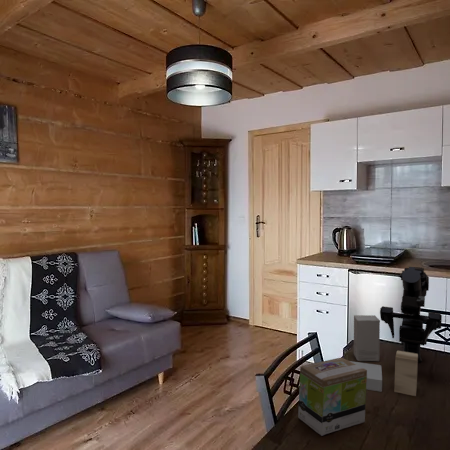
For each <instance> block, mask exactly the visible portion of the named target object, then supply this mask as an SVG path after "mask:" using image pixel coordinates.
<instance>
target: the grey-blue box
mask: <svg viewBox="0 0 450 450" xmlns="http://www.w3.org/2000/svg"><path fill="white" fill-rule="evenodd" d="M349 361H350V362H352V363H354V364H356V365H358V366H360V367H362V368H364V369H366V370H367V383H366V391H368V390H369V391H373V392H374V391H375V392H379V393H380V392H383V373H382V364H381V365H380V364H374V363H366V362H361V361H359V362H358V361H351V360H349Z"/></svg>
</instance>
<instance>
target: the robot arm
mask: <svg viewBox="0 0 450 450" xmlns="http://www.w3.org/2000/svg"><path fill="white" fill-rule="evenodd" d="M424 268H425V267H424ZM424 268H423V267H419V266H408V267H405V268H404V270H402V271H401V273H400V280H401V281H402V288H403V291H402V292H403V293H402V295H401V296H402V297H401V303H400V312H398V311H394V308H393V307H391V306H381V307H380V309H379V315H380V321H382V322H384V323H385V324H387V325H388V327H389V329H390V334H391V338H392V339H395V321H394V318H395V319H402V321H401V322H402V323H401V325H399V330H398V332H399V333H398V336H399V337H398V339H399V341H398V342H400V343H403V350H402V351H404V352H410V353H416V354H418V363H422V362H423V359H422V357H421V356H422V355H421V346H426V345H427V344H428V343H427V342H428V338H429V336H430V335H431V334H432V332H433V331H436V330H438V329H439V330H440V329H442V321H443V319H442V318H443V317H442V316H443V315H442V314H441V312H440V313H439V312H432V311H431V312H430V311H428V312H427V313H428V314H427V315H422V314H421V310H422V309H421V308H424V307H425V304H426V303H425V302H426V301H425V299H426V296H427V292H428V291H429V288H430V277H429V276H428V275H427V273H426V272H425V269H424ZM424 323H425V328H424Z"/></svg>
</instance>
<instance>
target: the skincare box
mask: <svg viewBox="0 0 450 450" xmlns="http://www.w3.org/2000/svg"><path fill="white" fill-rule="evenodd" d="M380 324H381V319H380V318H378V317H377V316H376V315H372V314H371V315H368V314H367V315H357V314H354V315H353V356H354V358H355V359H356V362H358V361H359V362H380V340H381V339H380V332H381V331H380V330H381V329H380V328H381V327H380V326H381V325H380Z"/></svg>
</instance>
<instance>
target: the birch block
mask: <svg viewBox="0 0 450 450" xmlns="http://www.w3.org/2000/svg"><path fill="white" fill-rule="evenodd" d="M394 357H395V359H394V360H395V361H394V385H393V386H394V387H393V388H394V390H393V391H394V393H399V394H403V395H408V396H412V397H417V390H418V388H417V387H418V363H419V362H418V354H416V353H410V352H404V351H403V350H397V351H396V354H395V356H394Z"/></svg>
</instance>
